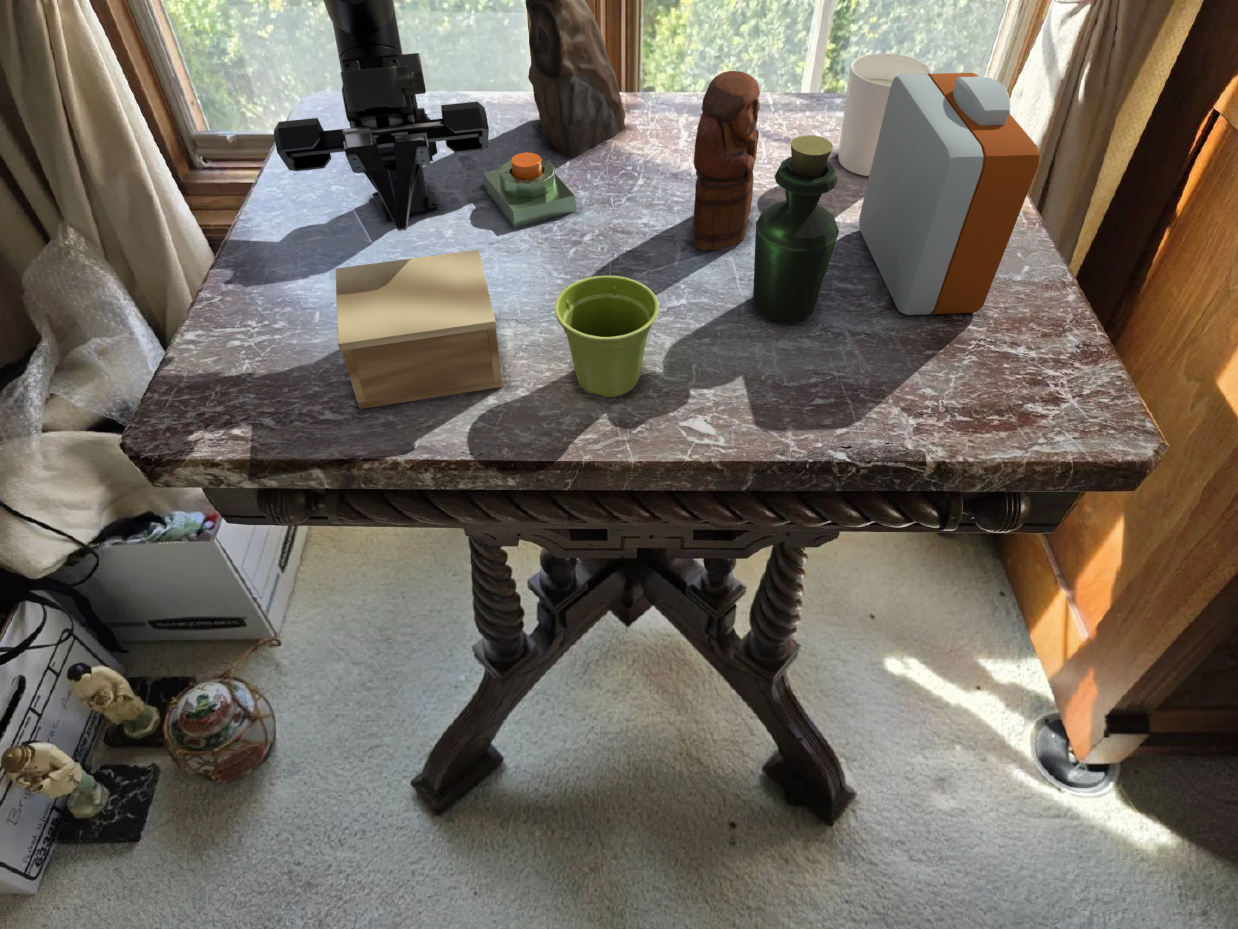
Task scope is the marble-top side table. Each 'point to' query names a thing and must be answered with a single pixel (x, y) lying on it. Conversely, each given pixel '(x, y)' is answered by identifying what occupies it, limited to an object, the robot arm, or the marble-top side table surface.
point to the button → (526, 165)
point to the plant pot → (607, 331)
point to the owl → (572, 77)
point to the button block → (529, 194)
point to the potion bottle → (796, 234)
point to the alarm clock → (945, 190)
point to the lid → (412, 300)
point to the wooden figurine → (725, 161)
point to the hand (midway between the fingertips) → (402, 229)
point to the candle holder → (869, 105)
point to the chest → (424, 368)
